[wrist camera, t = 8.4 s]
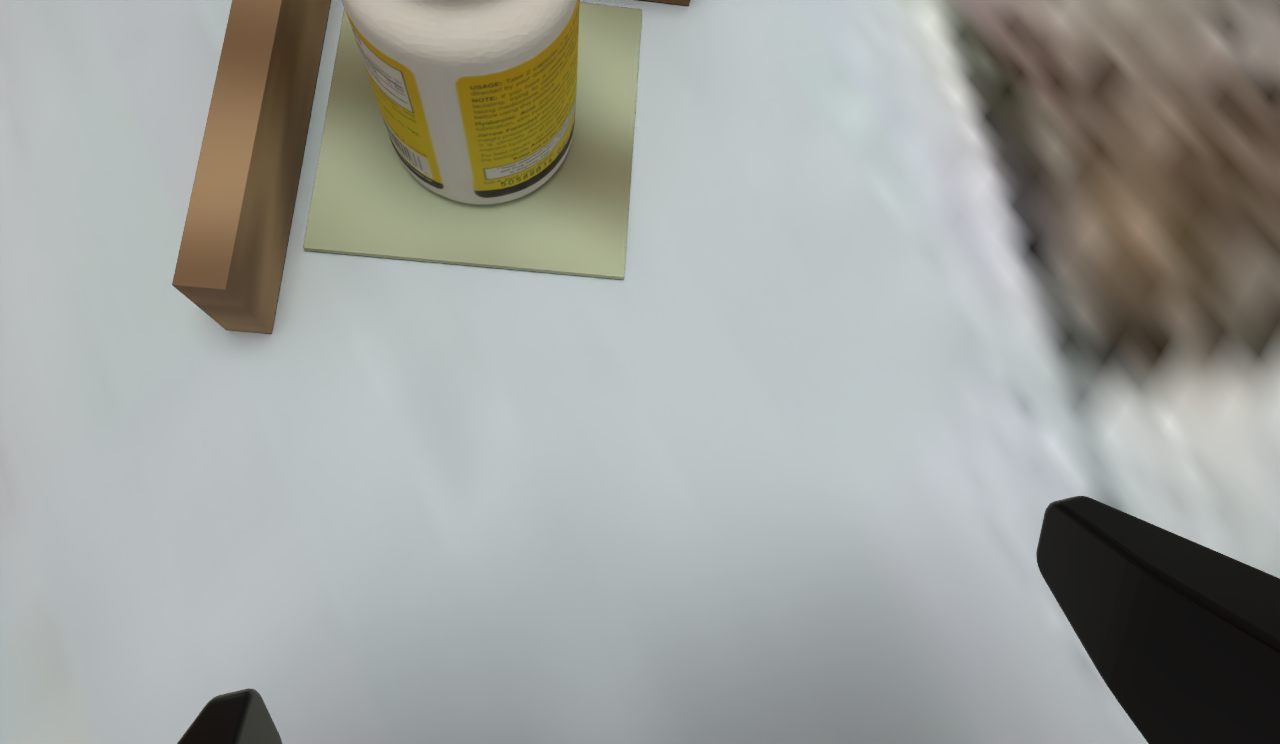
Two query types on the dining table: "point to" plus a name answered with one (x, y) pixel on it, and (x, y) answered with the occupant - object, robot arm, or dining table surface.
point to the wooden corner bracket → (386, 169)
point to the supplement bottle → (473, 89)
